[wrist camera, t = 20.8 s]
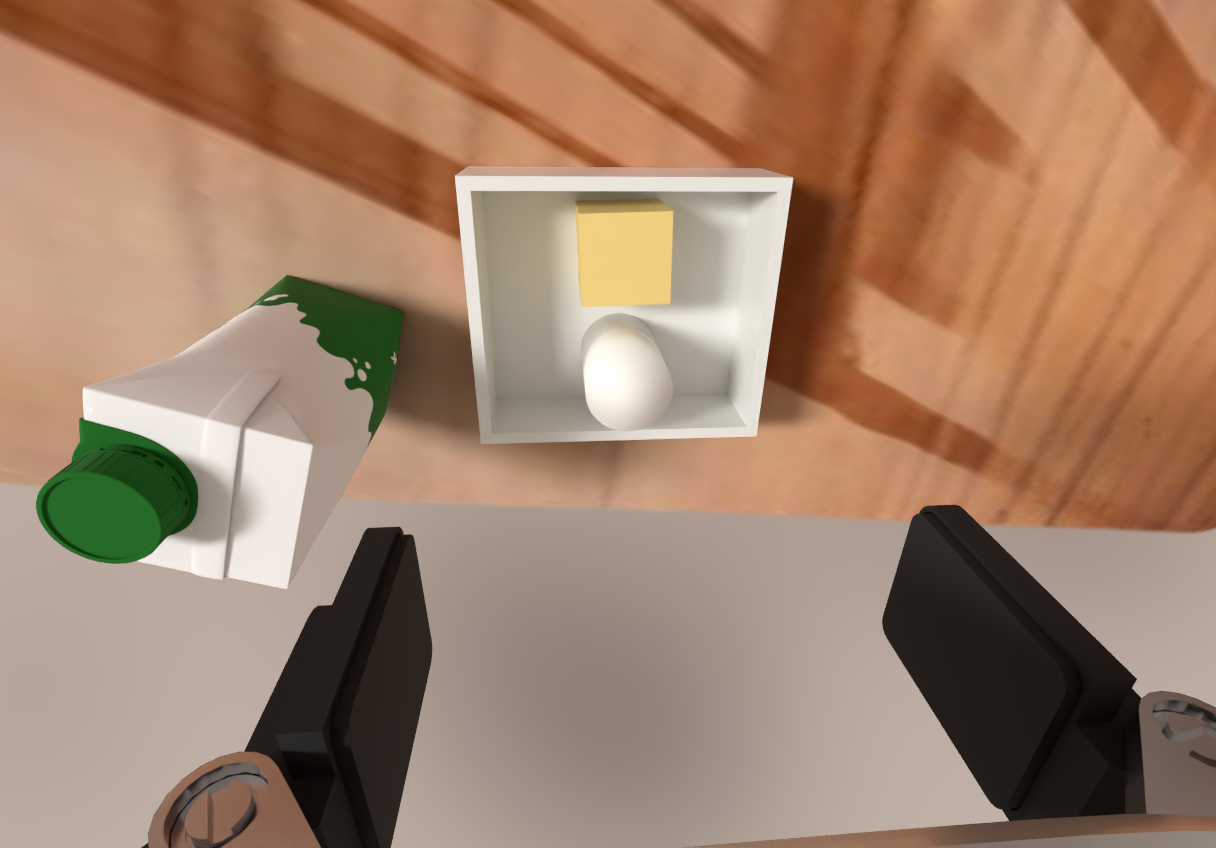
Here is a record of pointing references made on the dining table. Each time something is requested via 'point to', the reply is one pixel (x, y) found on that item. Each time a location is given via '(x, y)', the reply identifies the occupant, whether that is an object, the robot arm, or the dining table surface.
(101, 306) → the dining table surface
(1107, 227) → the dining table surface
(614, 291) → the mustard block
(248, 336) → the milk carton
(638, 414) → the white canister
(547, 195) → the tote
